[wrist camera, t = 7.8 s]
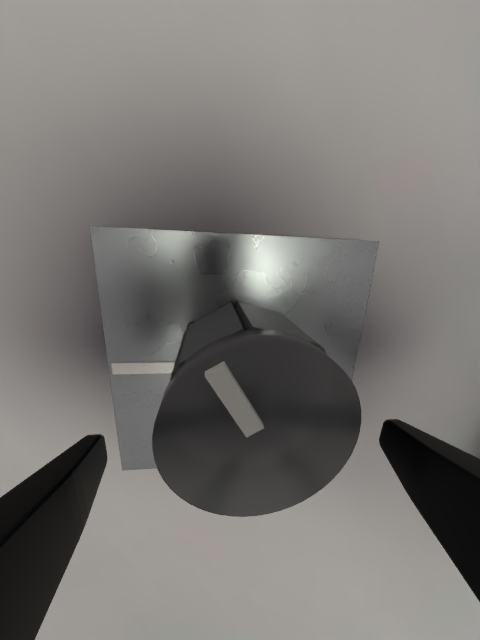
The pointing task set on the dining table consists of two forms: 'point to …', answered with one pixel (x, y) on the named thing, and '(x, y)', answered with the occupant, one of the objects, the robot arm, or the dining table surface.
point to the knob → (253, 414)
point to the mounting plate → (214, 304)
